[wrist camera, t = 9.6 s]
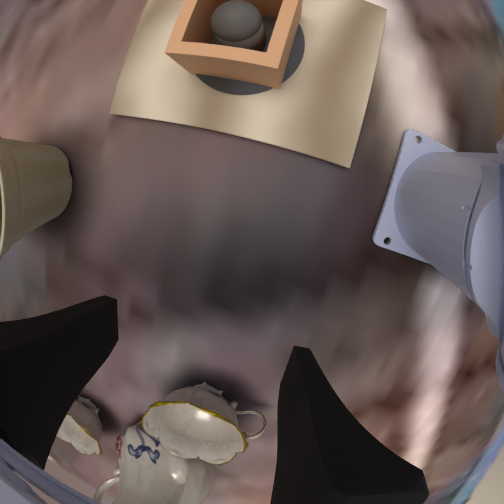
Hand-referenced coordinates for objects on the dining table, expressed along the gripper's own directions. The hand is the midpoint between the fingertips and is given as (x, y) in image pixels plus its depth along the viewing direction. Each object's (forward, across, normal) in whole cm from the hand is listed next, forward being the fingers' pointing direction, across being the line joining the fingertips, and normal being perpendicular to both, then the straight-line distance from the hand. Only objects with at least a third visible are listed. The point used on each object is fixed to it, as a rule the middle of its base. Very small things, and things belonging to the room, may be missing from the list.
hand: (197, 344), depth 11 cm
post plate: (+9, +2, -14) cm, 17 cm away
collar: (+8, +2, -14) cm, 17 cm away
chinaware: (+10, +6, +21) cm, 24 cm away
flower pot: (+10, +17, -3) cm, 20 cm away
